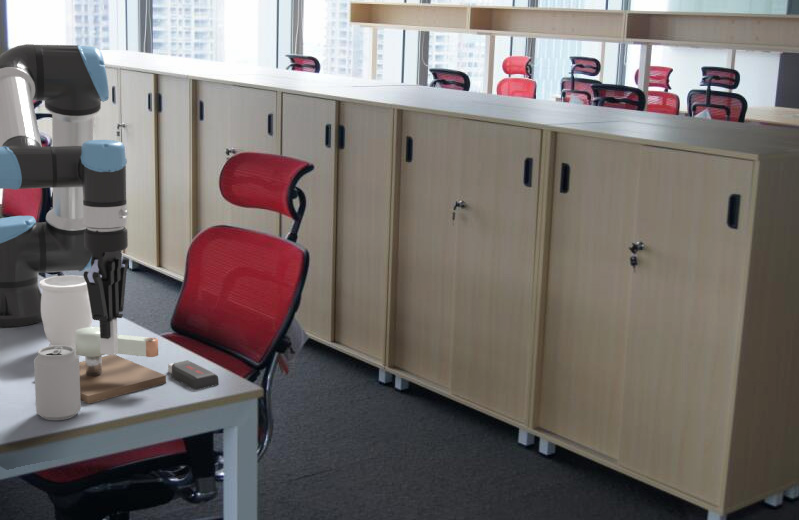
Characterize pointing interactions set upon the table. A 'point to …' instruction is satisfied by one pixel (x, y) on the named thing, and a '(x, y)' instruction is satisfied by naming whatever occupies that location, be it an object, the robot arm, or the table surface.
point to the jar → (64, 308)
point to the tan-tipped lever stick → (127, 345)
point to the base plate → (116, 379)
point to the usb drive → (192, 374)
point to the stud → (93, 365)
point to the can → (57, 382)
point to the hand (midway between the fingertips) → (109, 353)
